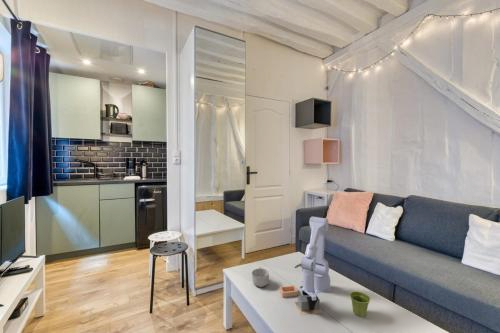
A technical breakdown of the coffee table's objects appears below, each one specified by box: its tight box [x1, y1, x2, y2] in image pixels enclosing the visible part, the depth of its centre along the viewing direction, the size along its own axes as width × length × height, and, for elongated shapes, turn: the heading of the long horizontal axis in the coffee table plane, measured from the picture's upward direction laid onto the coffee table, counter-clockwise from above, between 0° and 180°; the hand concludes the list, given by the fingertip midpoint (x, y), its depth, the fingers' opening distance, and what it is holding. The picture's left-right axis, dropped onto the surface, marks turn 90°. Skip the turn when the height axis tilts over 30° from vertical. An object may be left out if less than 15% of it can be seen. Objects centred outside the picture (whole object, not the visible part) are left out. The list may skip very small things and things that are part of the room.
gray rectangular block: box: [297, 293, 321, 311], centre depth 120 cm, size 10×5×5 cm, turn 98°
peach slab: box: [279, 284, 299, 299], centre depth 132 cm, size 9×6×3 cm, turn 98°
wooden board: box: [294, 301, 324, 316], centre depth 120 cm, size 12×10×1 cm
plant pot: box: [349, 290, 371, 318], centre depth 116 cm, size 9×9×9 cm
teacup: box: [251, 266, 270, 288], centre depth 144 cm, size 14×11×8 cm
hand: (308, 304), depth 120 cm, fingers open, 7 cm apart
